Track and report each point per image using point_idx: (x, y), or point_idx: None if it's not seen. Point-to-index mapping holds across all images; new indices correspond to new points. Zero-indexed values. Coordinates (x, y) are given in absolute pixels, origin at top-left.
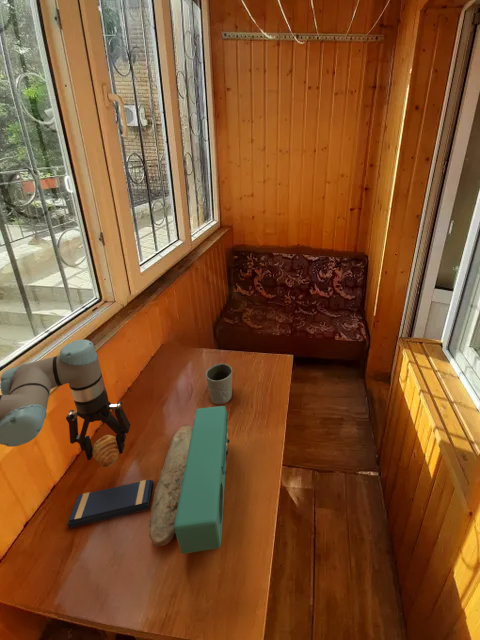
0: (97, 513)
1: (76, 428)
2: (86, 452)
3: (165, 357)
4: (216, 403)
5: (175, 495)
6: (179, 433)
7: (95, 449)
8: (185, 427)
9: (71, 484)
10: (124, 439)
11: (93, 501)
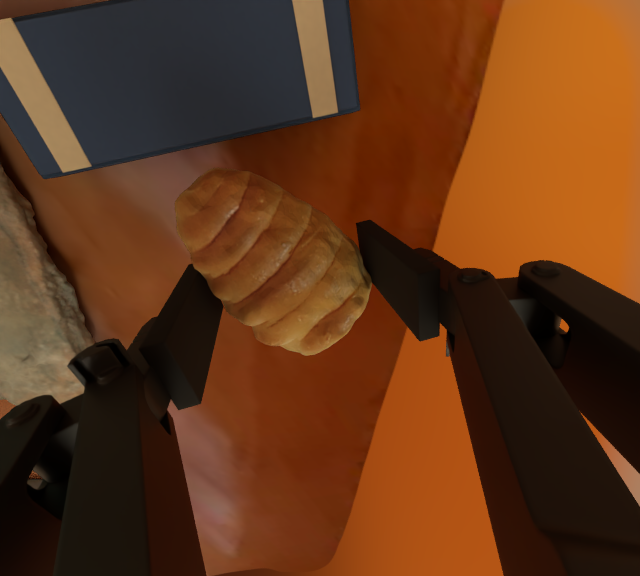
0: None
1: (619, 410)
2: (388, 238)
3: (312, 546)
4: (29, 483)
5: None
6: (62, 381)
7: (342, 264)
8: None
9: (408, 181)
10: (137, 336)
11: (270, 66)
